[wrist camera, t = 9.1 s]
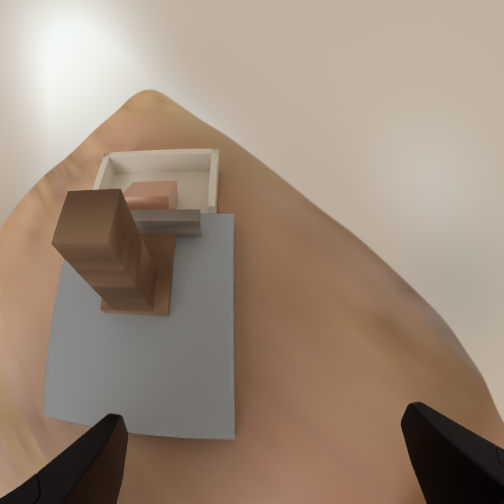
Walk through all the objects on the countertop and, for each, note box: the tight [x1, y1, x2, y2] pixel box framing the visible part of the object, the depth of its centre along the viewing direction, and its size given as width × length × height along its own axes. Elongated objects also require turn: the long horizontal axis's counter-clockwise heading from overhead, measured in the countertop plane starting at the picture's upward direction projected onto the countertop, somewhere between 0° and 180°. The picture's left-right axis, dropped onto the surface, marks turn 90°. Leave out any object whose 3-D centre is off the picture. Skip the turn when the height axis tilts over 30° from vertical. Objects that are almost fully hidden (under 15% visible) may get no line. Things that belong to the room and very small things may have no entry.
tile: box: [123, 181, 178, 210], centre depth 25 cm, size 4×4×2 cm
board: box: [43, 213, 235, 439], centre depth 22 cm, size 17×14×2 cm
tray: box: [93, 149, 219, 213], centre depth 27 cm, size 6×11×3 cm, turn 91°
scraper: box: [51, 189, 202, 316], centre depth 19 cm, size 7×9×10 cm
